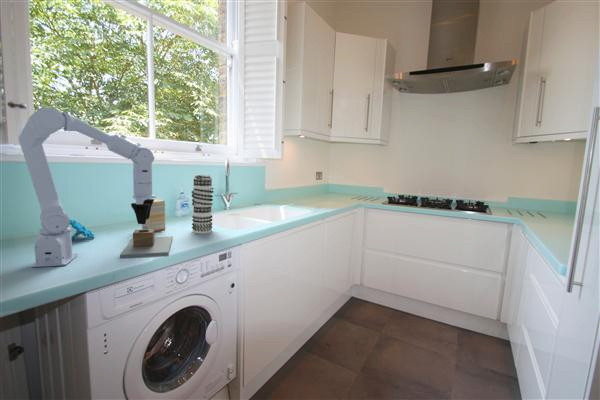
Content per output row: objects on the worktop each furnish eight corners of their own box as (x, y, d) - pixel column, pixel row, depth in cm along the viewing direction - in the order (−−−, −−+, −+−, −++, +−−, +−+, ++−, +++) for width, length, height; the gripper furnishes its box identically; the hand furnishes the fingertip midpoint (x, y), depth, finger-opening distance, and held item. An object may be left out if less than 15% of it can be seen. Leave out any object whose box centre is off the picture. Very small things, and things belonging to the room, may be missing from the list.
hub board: (168, 255, 97) (168, 240, 96) (119, 257, 92) (119, 242, 91) (172, 238, 115) (172, 226, 114) (132, 240, 110) (132, 227, 110)
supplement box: (159, 227, 131) (158, 199, 129) (165, 229, 129) (165, 200, 127) (141, 231, 124) (140, 200, 122) (147, 233, 121) (147, 202, 120)
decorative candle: (217, 231, 130) (217, 175, 126) (197, 234, 123) (197, 175, 119) (206, 227, 136) (207, 174, 132) (187, 230, 129) (187, 174, 126)
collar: (152, 246, 101) (152, 232, 101) (133, 247, 99) (132, 233, 99) (154, 242, 106) (154, 229, 105) (135, 243, 104) (135, 229, 103)
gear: (93, 237, 105) (68, 219, 102) (79, 250, 104) (53, 231, 101) (99, 234, 115) (76, 217, 112) (86, 245, 114) (63, 228, 111)
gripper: (152, 185, 95) (153, 225, 96) (158, 181, 108) (158, 217, 110) (128, 184, 92) (129, 226, 94) (136, 180, 106) (137, 217, 107)
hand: (143, 221), depth 102 cm, fingers open, 7 cm apart
